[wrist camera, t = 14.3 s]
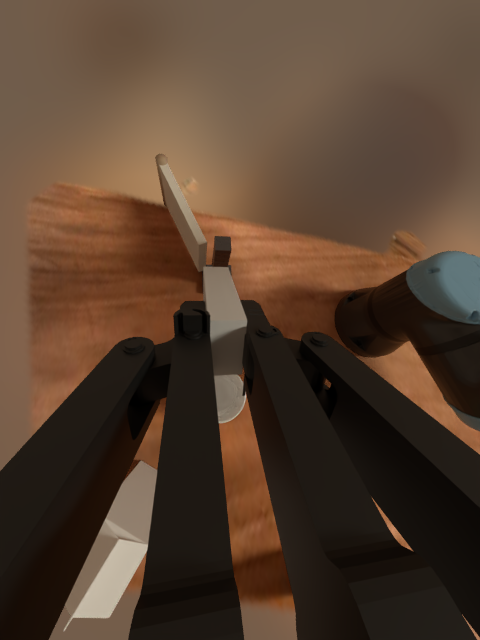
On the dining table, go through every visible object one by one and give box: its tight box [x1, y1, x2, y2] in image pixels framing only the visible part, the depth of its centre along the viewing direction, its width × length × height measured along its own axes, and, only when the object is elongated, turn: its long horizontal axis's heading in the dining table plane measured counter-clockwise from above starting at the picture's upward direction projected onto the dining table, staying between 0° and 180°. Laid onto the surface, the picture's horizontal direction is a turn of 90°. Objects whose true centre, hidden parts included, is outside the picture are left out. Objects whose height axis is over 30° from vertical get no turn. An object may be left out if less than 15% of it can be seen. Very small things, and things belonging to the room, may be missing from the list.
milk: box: [63, 461, 157, 631], centre depth 30 cm, size 6×6×22 cm
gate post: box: [202, 236, 231, 280], centre depth 46 cm, size 6×6×14 cm
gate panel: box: [156, 154, 207, 272], centre depth 48 cm, size 19×2×11 cm, turn 26°
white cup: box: [214, 375, 246, 423], centre depth 42 cm, size 8×8×10 cm
